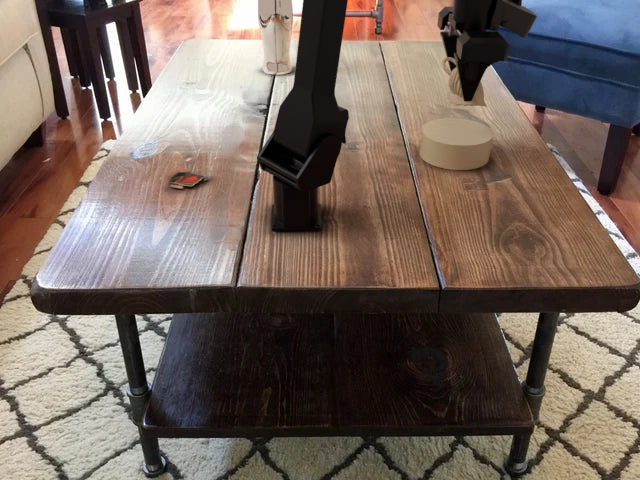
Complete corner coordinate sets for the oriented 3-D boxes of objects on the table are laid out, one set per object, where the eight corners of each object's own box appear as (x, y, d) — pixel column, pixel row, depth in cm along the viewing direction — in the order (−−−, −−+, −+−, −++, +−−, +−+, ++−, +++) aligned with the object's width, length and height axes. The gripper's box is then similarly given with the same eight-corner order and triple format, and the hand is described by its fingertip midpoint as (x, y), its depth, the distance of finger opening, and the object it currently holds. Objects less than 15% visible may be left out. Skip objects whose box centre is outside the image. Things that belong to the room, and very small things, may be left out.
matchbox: (176, 173, 95) (175, 170, 95) (209, 176, 94) (209, 173, 94) (164, 187, 91) (164, 184, 91) (199, 190, 91) (198, 187, 90)
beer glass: (256, 67, 136) (252, -10, 127) (286, 63, 139) (284, -12, 130) (267, 77, 131) (264, -2, 122) (299, 73, 134) (297, -5, 125)
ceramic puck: (496, 170, 98) (501, 145, 95) (425, 170, 97) (427, 145, 95) (480, 141, 106) (483, 117, 104) (414, 141, 106) (416, 117, 104)
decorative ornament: (464, 111, 93) (469, 74, 89) (434, 93, 99) (438, 57, 96) (487, 108, 94) (493, 71, 91) (456, 90, 100) (461, 54, 97)
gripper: (559, -8, 79) (534, 115, 88) (518, -35, 94) (499, 73, 103) (470, -8, 79) (454, 115, 88) (443, -35, 94) (431, 73, 103)
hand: (462, 92), depth 96 cm, fingers closed on decorative ornament, 7 cm apart
